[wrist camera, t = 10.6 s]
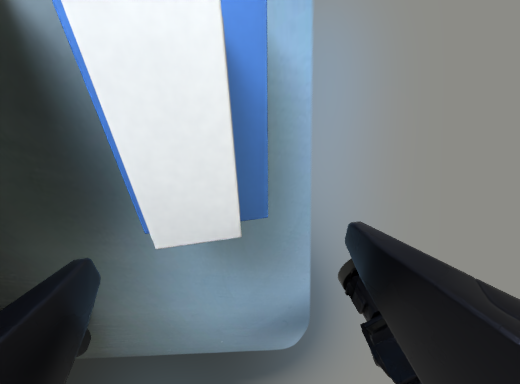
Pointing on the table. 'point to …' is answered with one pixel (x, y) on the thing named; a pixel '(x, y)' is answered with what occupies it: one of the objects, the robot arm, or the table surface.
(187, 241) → the block
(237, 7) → the container
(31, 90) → the table surface
